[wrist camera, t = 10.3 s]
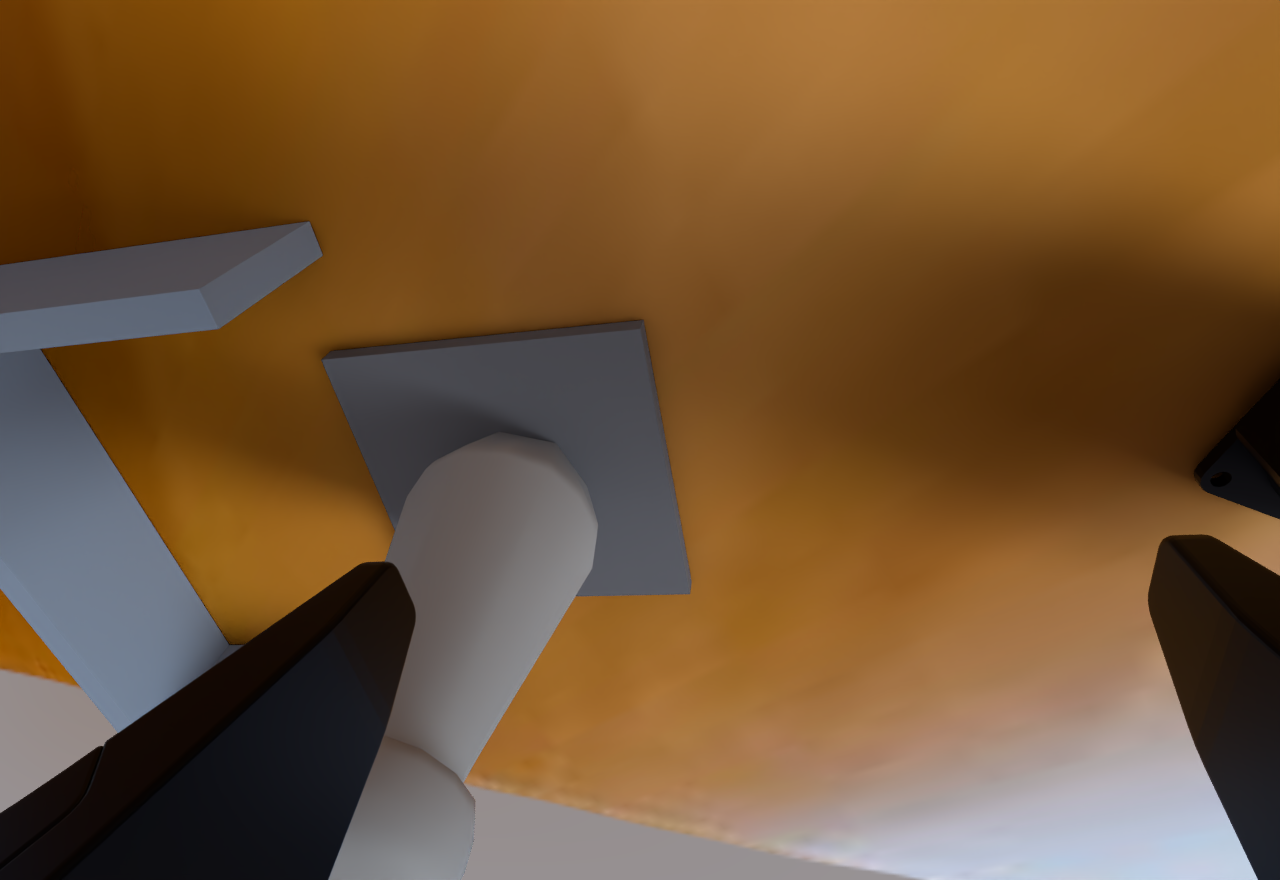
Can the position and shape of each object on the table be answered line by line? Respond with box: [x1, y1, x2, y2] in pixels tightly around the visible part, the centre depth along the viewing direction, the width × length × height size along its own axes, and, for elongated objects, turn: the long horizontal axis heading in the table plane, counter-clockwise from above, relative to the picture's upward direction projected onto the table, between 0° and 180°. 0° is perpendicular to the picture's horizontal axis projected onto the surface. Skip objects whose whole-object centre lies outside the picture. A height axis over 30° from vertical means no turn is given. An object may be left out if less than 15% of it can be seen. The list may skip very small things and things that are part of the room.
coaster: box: [321, 320, 691, 596], centre depth 25 cm, size 10×10×1 cm
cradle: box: [0, 221, 323, 733], centre depth 26 cm, size 12×18×5 cm
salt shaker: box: [329, 432, 598, 880], centre depth 20 cm, size 6×6×13 cm
